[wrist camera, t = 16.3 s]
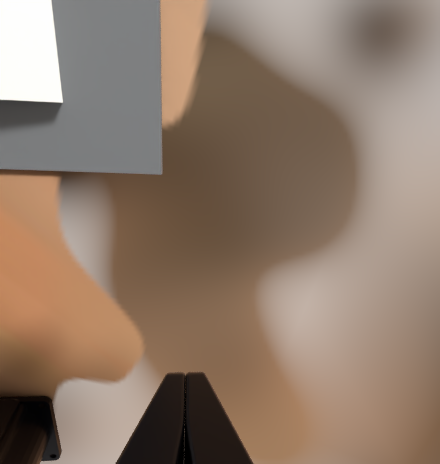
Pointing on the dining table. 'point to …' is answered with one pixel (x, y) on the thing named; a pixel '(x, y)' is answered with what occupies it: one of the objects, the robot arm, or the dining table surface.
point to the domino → (28, 52)
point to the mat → (94, 95)
